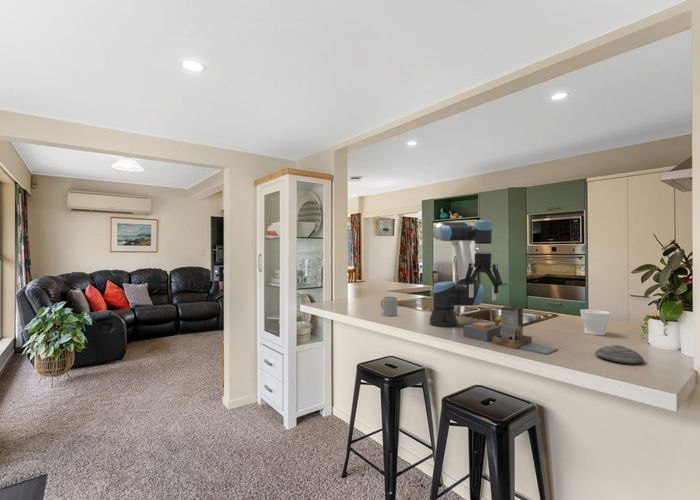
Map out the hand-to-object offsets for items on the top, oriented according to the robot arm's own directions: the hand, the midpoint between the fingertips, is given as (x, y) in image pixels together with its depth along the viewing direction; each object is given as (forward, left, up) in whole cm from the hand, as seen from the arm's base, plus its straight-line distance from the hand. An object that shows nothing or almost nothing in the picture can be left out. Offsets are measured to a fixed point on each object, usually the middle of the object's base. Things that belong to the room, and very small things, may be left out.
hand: (482, 298), depth 170 cm
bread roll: (-3, +26, -18) cm, 32 cm away
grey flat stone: (+51, +11, -19) cm, 55 cm away
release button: (0, 0, -17) cm, 17 cm away
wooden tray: (+14, 0, -18) cm, 23 cm away
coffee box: (+14, 0, -18) cm, 23 cm away
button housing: (0, 0, -18) cm, 18 cm away
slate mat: (+26, 0, -18) cm, 32 cm away
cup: (+31, +51, -18) cm, 62 cm away
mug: (-66, +3, -18) cm, 69 cm away
